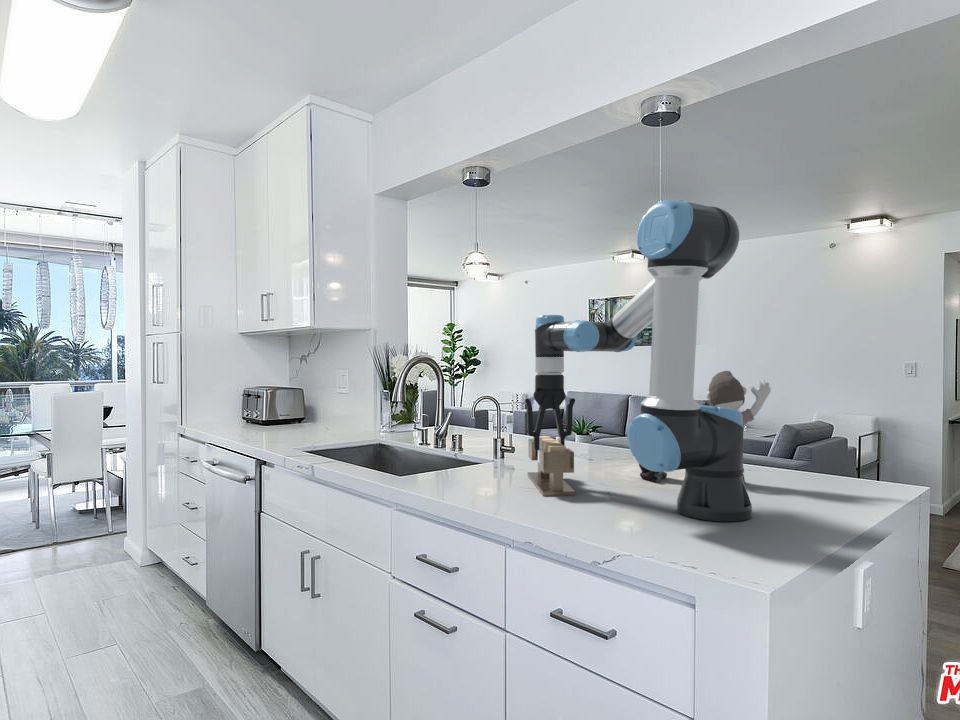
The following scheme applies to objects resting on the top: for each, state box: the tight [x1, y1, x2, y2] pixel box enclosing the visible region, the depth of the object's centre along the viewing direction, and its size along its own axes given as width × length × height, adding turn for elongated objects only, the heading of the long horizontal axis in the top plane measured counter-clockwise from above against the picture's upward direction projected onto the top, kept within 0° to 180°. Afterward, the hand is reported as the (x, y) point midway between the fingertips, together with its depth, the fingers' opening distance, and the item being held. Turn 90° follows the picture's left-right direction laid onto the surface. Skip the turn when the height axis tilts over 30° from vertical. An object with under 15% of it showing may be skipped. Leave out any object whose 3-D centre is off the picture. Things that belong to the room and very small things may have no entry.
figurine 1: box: [638, 463, 668, 482], centre depth 167 cm, size 10×10×15 cm
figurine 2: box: [705, 370, 772, 485], centre depth 163 cm, size 18×9×30 cm, turn 84°
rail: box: [536, 435, 567, 457], centre depth 160 cm, size 20×4×5 cm, turn 6°
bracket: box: [526, 438, 576, 497], centre depth 160 cm, size 25×8×10 cm, turn 4°
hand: (549, 462), depth 160 cm, fingers closed on rail, 4 cm apart
